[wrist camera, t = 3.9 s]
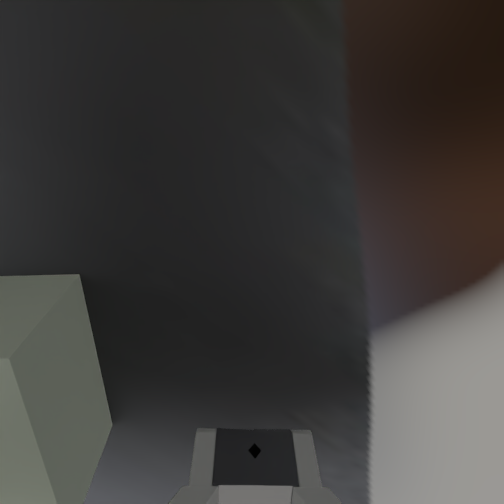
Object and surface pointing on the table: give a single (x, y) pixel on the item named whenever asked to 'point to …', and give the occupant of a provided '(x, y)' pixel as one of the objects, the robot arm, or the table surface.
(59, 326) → the sage block
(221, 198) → the table surface
